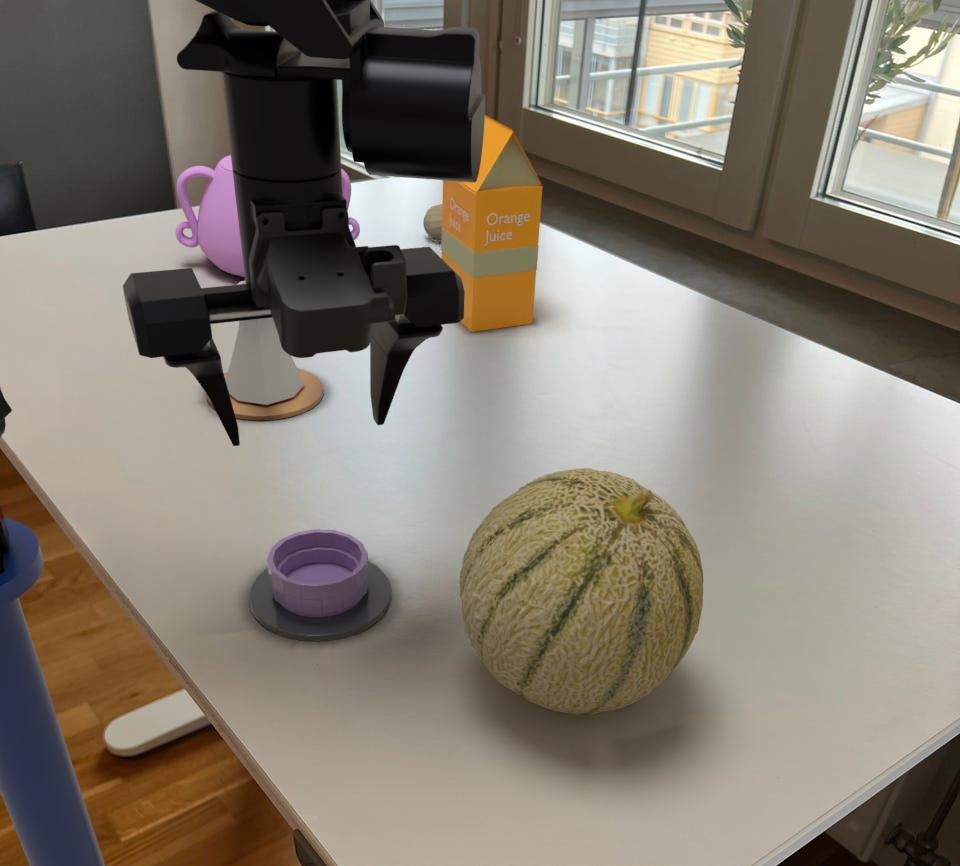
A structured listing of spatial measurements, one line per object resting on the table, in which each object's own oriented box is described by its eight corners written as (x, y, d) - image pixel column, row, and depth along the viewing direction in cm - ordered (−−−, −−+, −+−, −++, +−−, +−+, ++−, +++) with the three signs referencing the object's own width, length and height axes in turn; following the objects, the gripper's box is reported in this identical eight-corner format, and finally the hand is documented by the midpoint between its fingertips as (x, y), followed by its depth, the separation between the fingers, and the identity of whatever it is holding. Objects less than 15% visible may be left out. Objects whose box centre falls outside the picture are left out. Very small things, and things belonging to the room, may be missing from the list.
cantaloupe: (457, 609, 70) (462, 416, 61) (662, 613, 71) (699, 422, 61) (456, 762, 59) (463, 554, 49) (701, 765, 59) (754, 560, 50)
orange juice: (470, 332, 108) (477, 132, 96) (439, 303, 115) (442, 111, 102) (534, 323, 111) (549, 127, 98) (500, 295, 117) (510, 108, 104)
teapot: (181, 308, 111) (161, 175, 102) (180, 243, 127) (162, 125, 118) (377, 298, 115) (373, 171, 106) (351, 237, 131) (346, 122, 122)
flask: (318, 386, 96) (311, 283, 89) (267, 414, 91) (256, 306, 85) (261, 367, 99) (251, 265, 92) (209, 392, 94) (194, 287, 87)
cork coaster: (217, 427, 90) (217, 422, 89) (198, 377, 97) (197, 372, 97) (336, 411, 93) (336, 406, 93) (308, 363, 101) (307, 359, 100)
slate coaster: (266, 654, 66) (265, 648, 65) (237, 570, 73) (236, 565, 73) (409, 624, 69) (409, 618, 69) (368, 546, 76) (368, 541, 76)
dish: (283, 628, 67) (279, 593, 65) (263, 573, 72) (258, 538, 70) (380, 609, 69) (379, 574, 67) (353, 556, 74) (352, 522, 72)
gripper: (120, 228, 44) (176, 524, 54) (507, 198, 50) (492, 471, 60) (98, 162, 52) (150, 431, 62) (433, 143, 58) (432, 392, 68)
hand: (308, 432), depth 63 cm, fingers open, 9 cm apart
